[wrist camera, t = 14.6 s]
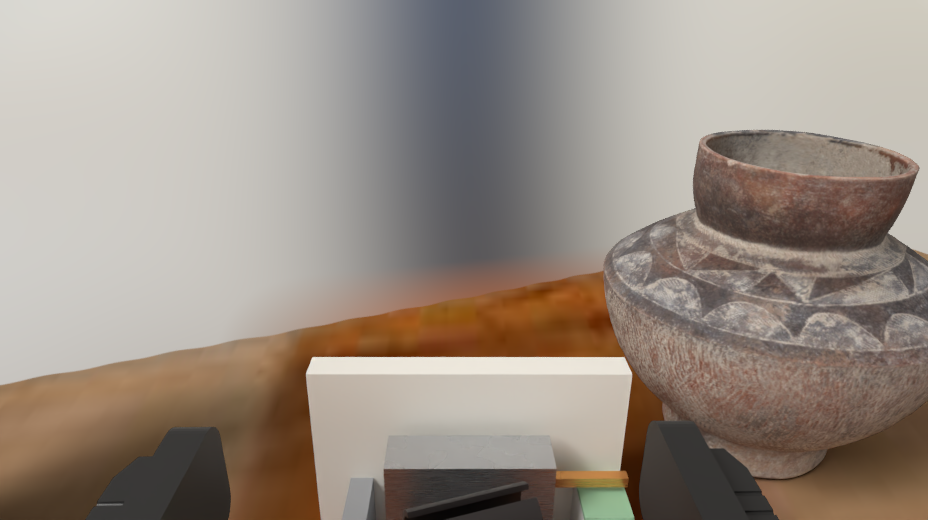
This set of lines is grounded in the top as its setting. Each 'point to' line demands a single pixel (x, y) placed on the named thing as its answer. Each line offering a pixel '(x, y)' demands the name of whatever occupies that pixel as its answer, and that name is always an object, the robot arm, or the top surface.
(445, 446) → the block and dowel assembly
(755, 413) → the ceramic pot
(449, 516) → the phone stand
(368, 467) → the panel and block assembly
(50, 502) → the top surface
